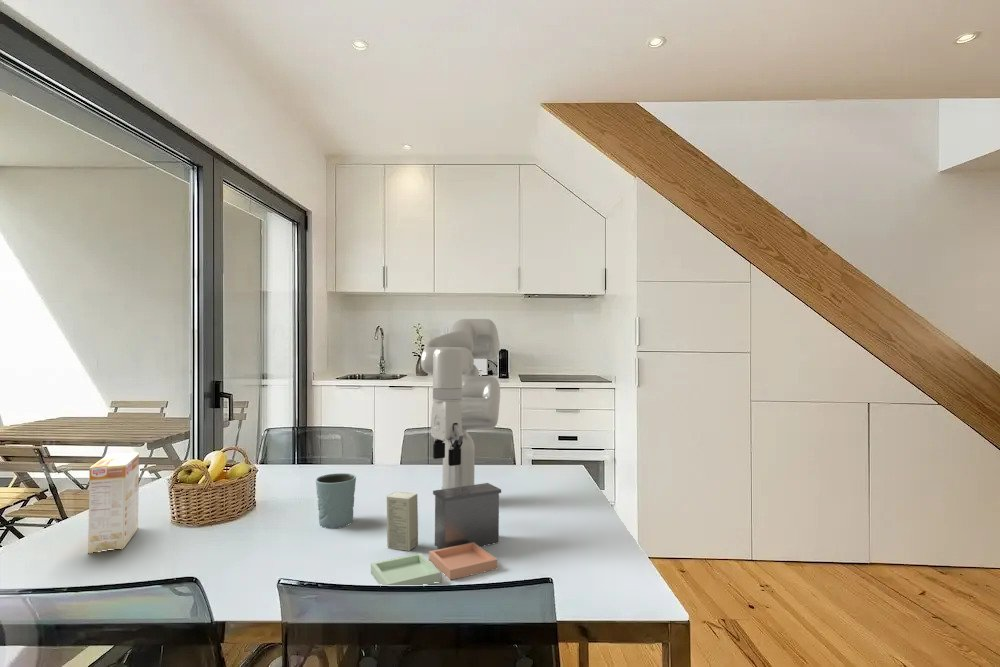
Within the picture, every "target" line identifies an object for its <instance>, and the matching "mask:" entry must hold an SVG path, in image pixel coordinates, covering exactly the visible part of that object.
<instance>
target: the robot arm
mask: <svg viewBox="0 0 1000 667" xmlns="http://www.w3.org/2000/svg"><path fill="white" fill-rule="evenodd" d="M500 347H501V346H500V339H499V333H498V328H497V326H496V324H495V323H494V321H493V320H491V319H488V318H461V319H458V320H457V321H456V322H454V323H453V325H452V327H451V329H450V331H449V332H447V333H444V334H442V335H440V336H436V337H434V338H432V339H430V340H429V341H427V343H426V345H425V346H424V348H423V350H422V352H421V354H420V355H421V357H420V366H421V368H422V370H423V372H424V373H426V374H429V375H432V406H431V417H430V436H431V437H432V444H433V445H432V458H433V459H434V460H437V459H442V486H441V490H442V489H449V488H456V487H462V486H469V485H475V457H476V456H475V452H476V451H475V441H474V440H473V438H472V436H471V435H470V434H469V432H468V430H469V431H470V430H474V431H475V430H476V431H477V430H479V431H481V430H484V431H485V430H493V429H495V427H496V426H497V424H498V421H499V417H500V416H499V415H500V414H499V413H500V401H501V400H500V399H501V386H500V382H499V380H498V379H497V378H496V377H495V376H490V375H480V370H479V369H478V368H477V366H476V365H475V359H476V360H479V359H480V360H482V359H483V360H493V359H496V358H497V357H498V355H499V353H500Z"/></svg>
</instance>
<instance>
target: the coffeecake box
mask: <svg viewBox="0 0 1000 667" xmlns="http://www.w3.org/2000/svg"><path fill="white" fill-rule="evenodd" d="M139 462H140V452H131V453H130V452H129V453H111V454H107V455H105V456H104V457H103V458H101V459H100V460H98V461H97V462H96V463H94V464H93V465H92V466H90V467H89V472H88V473H89V479H88V481H89V483H88V484H89V486H88V489H89V490H88V535H87V536H88V541H87V542H88V543H87V554H88V553H89V554H94V553H93V552H98V551H102V550H108V549H120V548H124V549H125V547H126V546H127V545H128V543H129V542H130V540H132V538H133V536H134V535H135V534H136V533H137V531H138V530H139V488H140V486H139V479H140V477H139V476H140V463H139ZM98 553H99V552H98Z"/></svg>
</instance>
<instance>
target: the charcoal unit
mask: <svg viewBox="0 0 1000 667" xmlns="http://www.w3.org/2000/svg"><path fill="white" fill-rule="evenodd" d="M500 494H502V489H501V488H499V487H497V486H495V485H493V484H490V483H489V482H484V483H477V484H474V485H469V486H462V487H456V488H449V489H442V488H441V489H436V490H433V491H432V495H433V496H434V546H435V547H436V546H437V547H438V549H443V548H448V547H453V546H458V545H463V544H467V543H472V542H474V543H476V544H477V545H478V546H481V547H485V546H484V545H486V546H489V545H488V544H491V545H494V544H493V543H495V544H499V543H498V542H500V541H499V539H500V538H499V537H500V536H499V535H500V533H499V532H500V531H499V529H500V528H499V527H500V522H499V521H500V520H499V519H500V515H499V512H500ZM437 547H436V548H437Z"/></svg>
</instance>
